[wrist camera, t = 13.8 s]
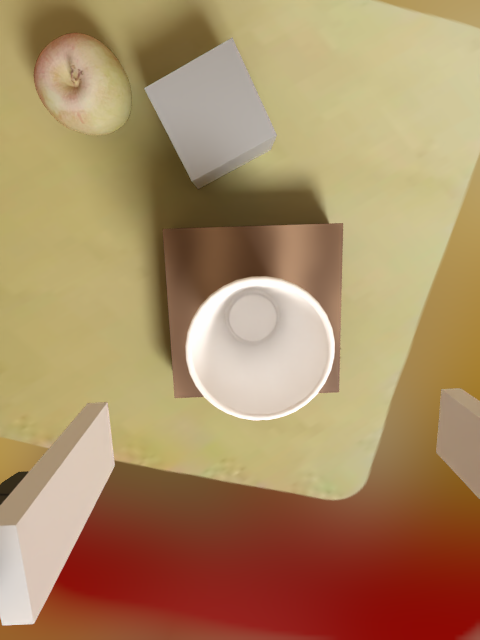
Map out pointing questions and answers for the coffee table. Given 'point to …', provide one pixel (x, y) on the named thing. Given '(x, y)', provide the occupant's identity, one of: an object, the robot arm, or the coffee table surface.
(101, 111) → the fruit
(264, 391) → the cup
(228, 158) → the grey block
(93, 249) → the coffee table surface
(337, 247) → the walnut block
